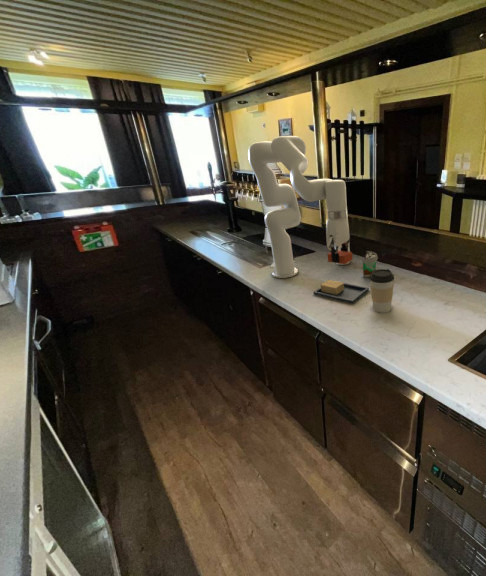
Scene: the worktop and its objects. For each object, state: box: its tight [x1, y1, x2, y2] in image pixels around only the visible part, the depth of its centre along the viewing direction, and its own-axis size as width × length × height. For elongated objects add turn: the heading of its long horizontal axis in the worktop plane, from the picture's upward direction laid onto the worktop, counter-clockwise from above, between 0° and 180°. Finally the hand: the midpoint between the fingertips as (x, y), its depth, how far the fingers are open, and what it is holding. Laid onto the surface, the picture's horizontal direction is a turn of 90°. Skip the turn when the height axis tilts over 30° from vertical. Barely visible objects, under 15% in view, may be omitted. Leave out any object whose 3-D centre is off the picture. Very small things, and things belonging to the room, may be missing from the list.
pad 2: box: [320, 279, 345, 295], centre depth 130 cm, size 8×6×3 cm
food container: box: [362, 250, 379, 278], centre depth 144 cm, size 12×6×10 cm, turn 168°
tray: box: [313, 279, 370, 305], centre depth 128 cm, size 19×14×2 cm
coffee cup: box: [369, 268, 395, 313], centre depth 112 cm, size 9×9×15 cm
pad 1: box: [327, 250, 353, 265], centre depth 121 cm, size 8×6×3 cm
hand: (340, 259), depth 121 cm, fingers closed on pad 1, 6 cm apart
